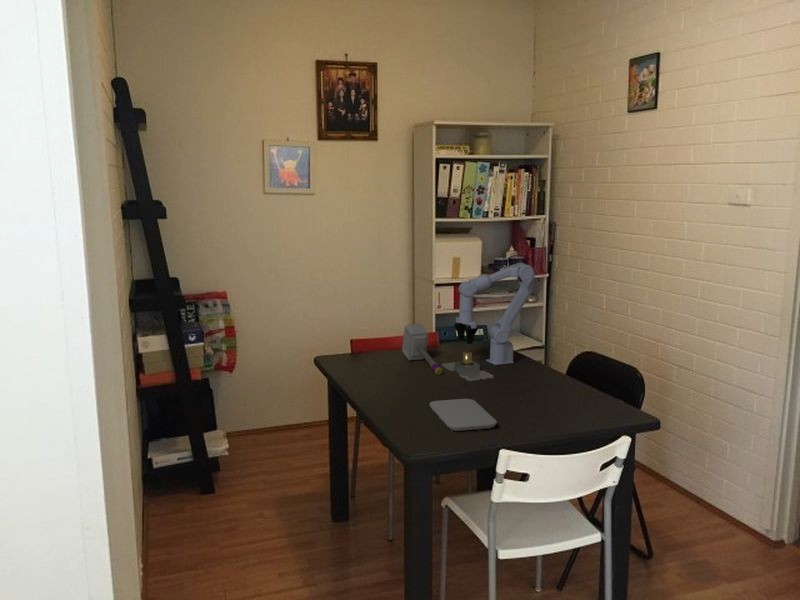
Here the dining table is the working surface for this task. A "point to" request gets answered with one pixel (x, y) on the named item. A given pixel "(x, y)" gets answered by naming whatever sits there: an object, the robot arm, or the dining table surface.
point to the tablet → (462, 414)
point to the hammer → (418, 345)
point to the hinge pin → (467, 358)
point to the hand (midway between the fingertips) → (465, 341)
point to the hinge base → (468, 370)
